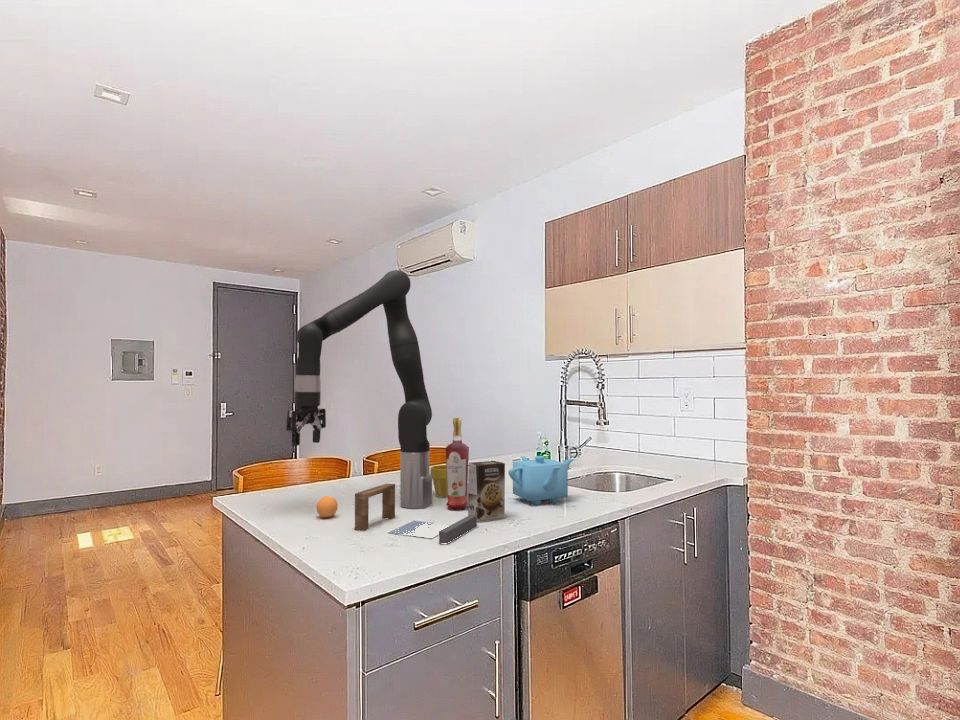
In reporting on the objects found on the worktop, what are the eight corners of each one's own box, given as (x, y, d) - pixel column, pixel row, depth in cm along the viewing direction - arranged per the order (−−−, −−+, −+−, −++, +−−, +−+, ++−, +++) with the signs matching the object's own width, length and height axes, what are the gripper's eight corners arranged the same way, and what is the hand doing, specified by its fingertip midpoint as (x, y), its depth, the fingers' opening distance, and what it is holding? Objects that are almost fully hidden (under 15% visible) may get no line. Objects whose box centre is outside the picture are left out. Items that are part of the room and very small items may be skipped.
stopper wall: (476, 526, 153) (476, 515, 153) (446, 544, 136) (446, 532, 137) (470, 525, 154) (470, 514, 154) (439, 543, 137) (439, 531, 137)
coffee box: (477, 522, 157) (477, 465, 157) (467, 517, 162) (467, 462, 163) (505, 519, 161) (505, 462, 161) (494, 514, 166) (494, 459, 167)
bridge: (394, 517, 162) (395, 484, 162) (363, 531, 148) (364, 494, 148) (386, 516, 163) (386, 483, 163) (354, 529, 150) (354, 493, 150)
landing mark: (454, 526, 153) (454, 525, 153) (431, 539, 141) (431, 538, 141) (413, 521, 158) (413, 520, 158) (388, 533, 146) (388, 532, 146)
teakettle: (505, 505, 178) (504, 458, 178) (521, 492, 196) (521, 450, 196) (563, 510, 171) (563, 462, 172) (575, 497, 189) (574, 453, 189)
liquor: (471, 506, 176) (471, 417, 177) (465, 511, 169) (465, 419, 169) (449, 505, 178) (449, 417, 178) (442, 510, 170) (442, 418, 171)
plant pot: (439, 491, 199) (439, 463, 199) (465, 493, 194) (465, 465, 195) (424, 496, 189) (424, 468, 190) (451, 499, 185) (451, 470, 185)
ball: (341, 515, 164) (341, 495, 164) (328, 520, 159) (328, 499, 159) (325, 513, 167) (325, 493, 167) (311, 518, 161) (312, 497, 161)
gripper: (300, 391, 161) (298, 447, 161) (333, 390, 174) (331, 442, 173) (280, 390, 164) (279, 445, 164) (314, 389, 177) (313, 440, 177)
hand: (306, 443), depth 169 cm, fingers open, 8 cm apart
